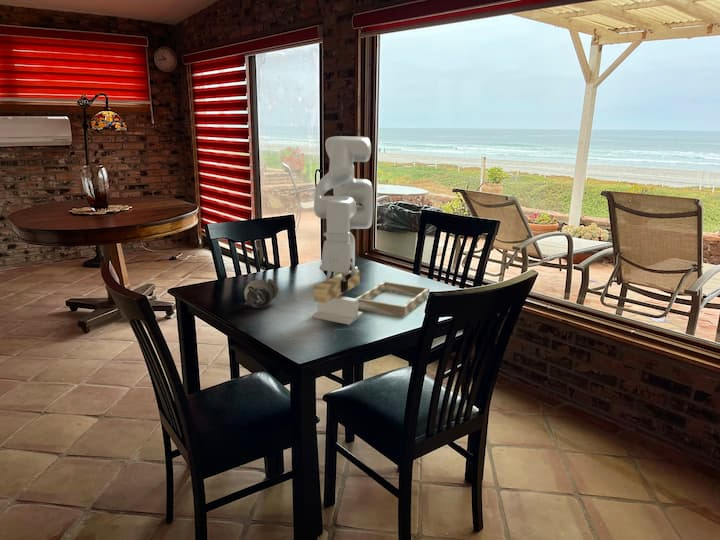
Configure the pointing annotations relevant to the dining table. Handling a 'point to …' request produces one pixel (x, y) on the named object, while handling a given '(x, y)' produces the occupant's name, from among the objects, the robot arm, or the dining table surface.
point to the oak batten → (333, 287)
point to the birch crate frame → (392, 309)
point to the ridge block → (339, 310)
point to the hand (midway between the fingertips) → (338, 290)
